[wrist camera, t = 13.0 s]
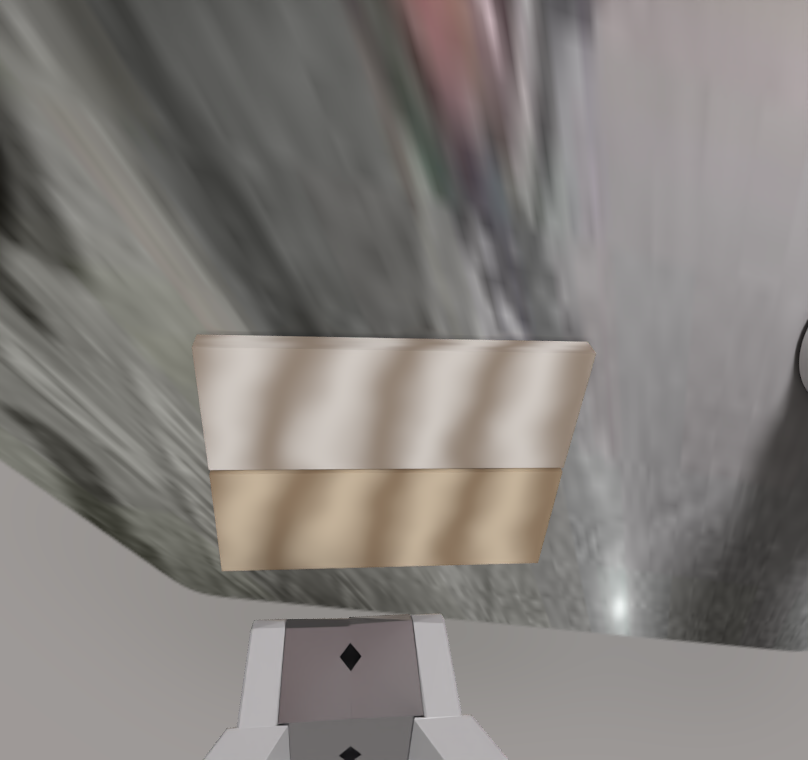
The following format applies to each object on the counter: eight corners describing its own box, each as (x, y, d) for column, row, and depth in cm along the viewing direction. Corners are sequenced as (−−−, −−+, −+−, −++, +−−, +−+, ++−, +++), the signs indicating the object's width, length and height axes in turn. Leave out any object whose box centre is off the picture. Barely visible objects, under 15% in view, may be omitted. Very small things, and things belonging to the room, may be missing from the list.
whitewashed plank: (587, 341, 41) (596, 353, 40) (556, 453, 46) (563, 467, 45) (197, 334, 38) (191, 347, 37) (212, 455, 43) (208, 470, 42)
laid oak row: (555, 458, 47) (562, 471, 45) (532, 548, 52) (537, 562, 50) (213, 460, 44) (209, 474, 42) (225, 555, 49) (221, 571, 47)
